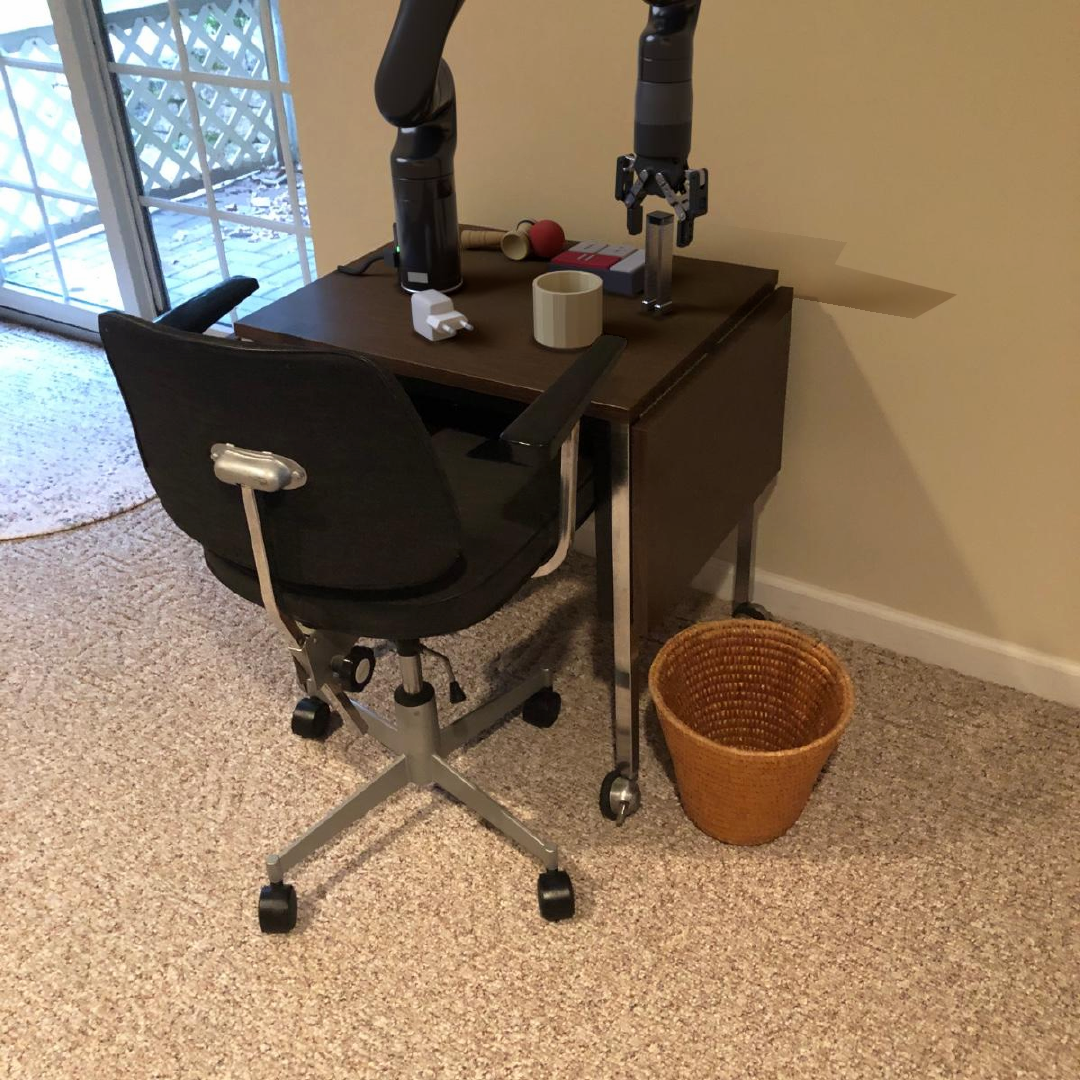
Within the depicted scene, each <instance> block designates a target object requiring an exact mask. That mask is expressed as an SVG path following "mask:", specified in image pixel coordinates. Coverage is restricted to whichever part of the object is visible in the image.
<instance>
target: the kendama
mask: <svg viewBox="0 0 1080 1080" xmlns="http://www.w3.org/2000/svg"><path fill="white" fill-rule="evenodd" d="M460 242H461V246H462V247H463V248H464V249H473V248H483V247H494V246H501V250H502V252H503V253H504V254H505V256H506V257H508V258H509V259H510V260H514V261H522V260H524V259H525V258H526V257H528V255H529V254H530V252H531V251H532V253H533V254H535V255H536V256H538V257H539V258H543V259H552V258H554V257H556V256H558V255H560V254H561V253H563V250H564V248H565V243H566V234H565V231H564V229H563V227H562V226H561V225H560V224H559V223H558V222H556V221H554V220H551V219H543V220H539V221H538V220H537V219H535V218H533V217H524V218H522V219H521V220H520V221H519V222H518V223H517V225H516V230H515V229H512V230H509V231H508V232H504V231H493V230H489V231H488V230H470V229H464V230H462V232H461V234H460Z"/></svg>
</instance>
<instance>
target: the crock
mask: <svg viewBox="0 0 1080 1080" xmlns="http://www.w3.org/2000/svg"><path fill="white" fill-rule="evenodd" d="M603 292H604V289H603V280H602V279H601V278H600V277H599V276H597V275H595V274H592V273H588V272H583V271H571V270H569V271H556V272H550V273H548V272H546V273H544V274H541V275H539V276H537V277H536V278H534V279H533V281H532V310H533V311H532V313H533V336H534V339H535V340H536V341H537V342H538V343H539V344H541V345H543V346H547V347H550V348H555V349H579V348H584V347H589V346H591V344H592V343H593V342H594V341H595V339H596V338H597V337H598V336H600V335H601V334H602V335H603V318H604V317H603V316H604V315H603V313H604V311H603V307H604V304H603V303H604V302H603V301H604V300H603V299H604V296H603V295H604V293H603ZM592 345H593V344H592Z"/></svg>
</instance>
